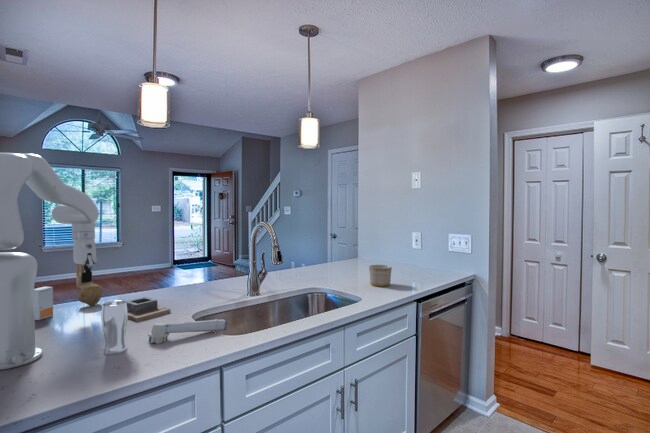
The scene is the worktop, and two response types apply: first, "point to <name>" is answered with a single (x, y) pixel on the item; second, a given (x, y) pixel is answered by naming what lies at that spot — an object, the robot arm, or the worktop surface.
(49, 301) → the skincare box
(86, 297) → the natural sponge
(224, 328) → the white handle
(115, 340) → the beer glass
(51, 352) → the worktop surface
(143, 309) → the peg caddy
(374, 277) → the planter
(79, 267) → the oak peg
